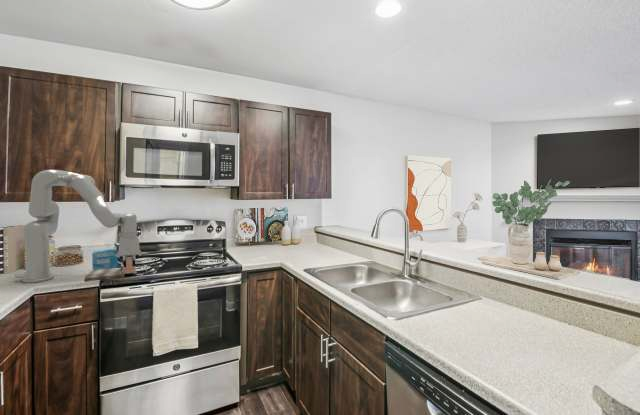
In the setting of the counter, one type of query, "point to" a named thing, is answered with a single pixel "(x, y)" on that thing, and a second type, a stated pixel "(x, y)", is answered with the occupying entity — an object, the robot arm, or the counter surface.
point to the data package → (104, 259)
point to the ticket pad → (104, 274)
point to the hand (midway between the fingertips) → (129, 266)
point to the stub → (129, 266)
